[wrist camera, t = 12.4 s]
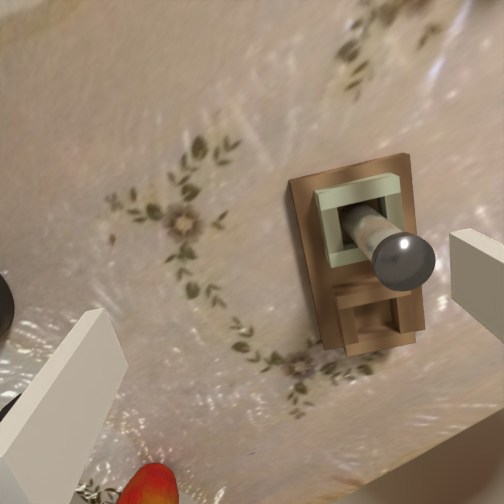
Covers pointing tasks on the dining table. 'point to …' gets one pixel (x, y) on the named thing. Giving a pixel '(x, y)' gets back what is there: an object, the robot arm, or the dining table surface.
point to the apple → (151, 486)
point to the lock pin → (389, 248)
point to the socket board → (356, 282)
